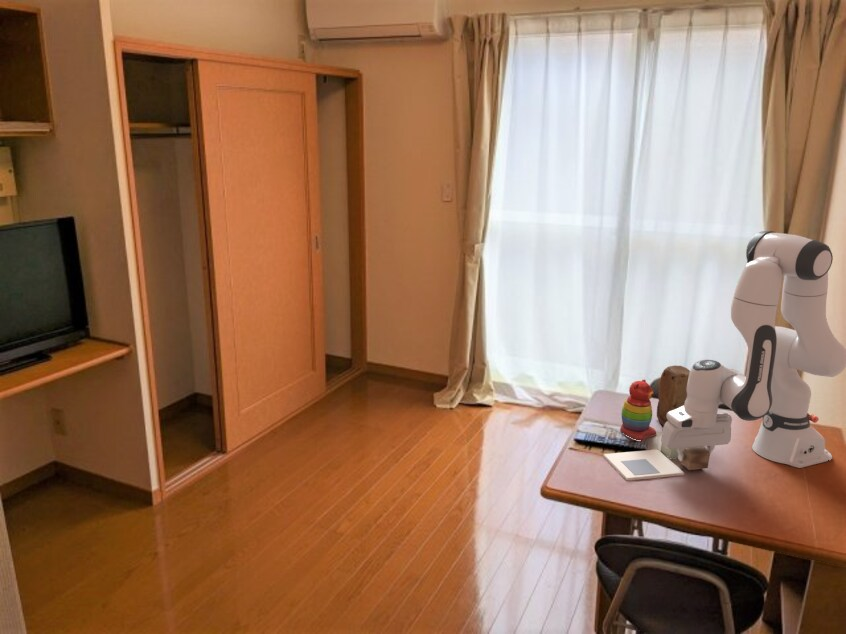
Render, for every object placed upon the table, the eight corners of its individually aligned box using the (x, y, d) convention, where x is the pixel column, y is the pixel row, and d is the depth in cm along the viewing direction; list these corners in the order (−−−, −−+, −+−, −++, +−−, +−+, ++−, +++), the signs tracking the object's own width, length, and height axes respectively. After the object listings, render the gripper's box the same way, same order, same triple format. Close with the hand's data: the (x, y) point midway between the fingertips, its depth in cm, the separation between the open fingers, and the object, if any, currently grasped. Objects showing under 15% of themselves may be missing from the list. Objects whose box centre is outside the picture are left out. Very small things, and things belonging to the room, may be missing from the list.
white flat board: (657, 451, 204) (657, 449, 203) (683, 475, 191) (684, 472, 190) (603, 456, 200) (603, 453, 200) (626, 480, 187) (626, 477, 186)
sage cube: (675, 449, 206) (677, 435, 204) (684, 457, 201) (687, 442, 199) (660, 450, 204) (662, 436, 203) (669, 458, 200) (672, 443, 198)
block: (689, 430, 218) (698, 373, 213) (668, 432, 217) (676, 374, 211) (671, 416, 229) (679, 362, 223) (651, 417, 227) (659, 362, 221)
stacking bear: (639, 443, 209) (646, 390, 204) (612, 431, 216) (618, 380, 211) (658, 434, 215) (665, 383, 210) (631, 422, 223) (638, 373, 218)
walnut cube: (695, 457, 197) (698, 442, 196) (707, 468, 192) (710, 452, 190) (677, 459, 196) (679, 444, 195) (688, 470, 191) (691, 454, 189)
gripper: (725, 408, 194) (719, 450, 198) (661, 413, 190) (656, 456, 195) (739, 417, 188) (732, 461, 192) (673, 423, 185) (667, 467, 189)
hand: (693, 458), depth 193 cm, fingers closed on walnut cube, 6 cm apart
